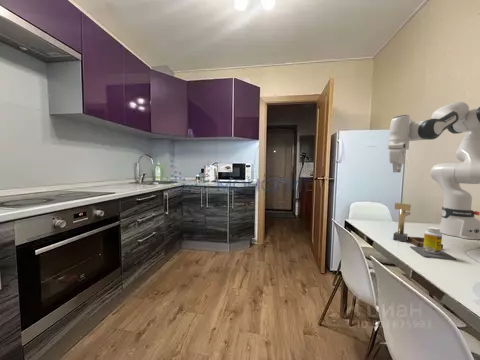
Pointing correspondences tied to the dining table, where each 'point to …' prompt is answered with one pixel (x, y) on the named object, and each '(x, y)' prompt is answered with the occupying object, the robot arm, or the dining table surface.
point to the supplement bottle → (432, 240)
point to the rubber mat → (426, 254)
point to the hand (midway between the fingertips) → (396, 172)
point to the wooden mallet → (402, 215)
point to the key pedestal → (400, 237)
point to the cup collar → (418, 241)
